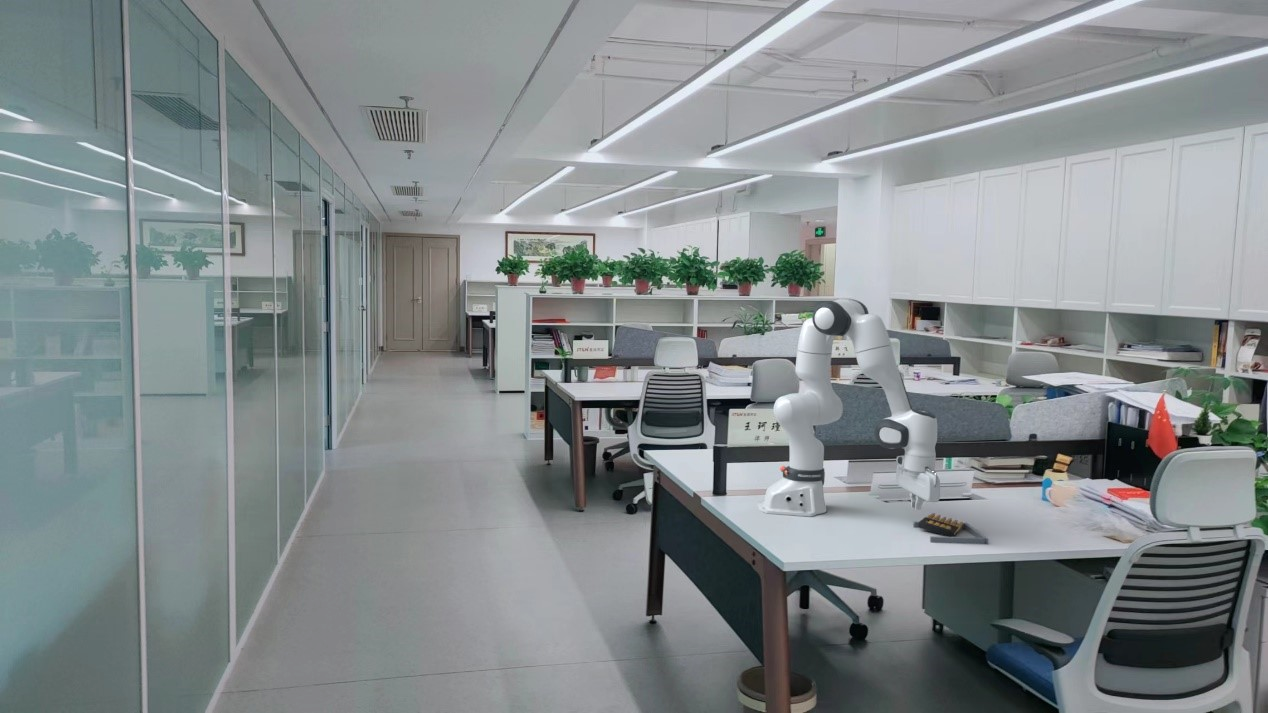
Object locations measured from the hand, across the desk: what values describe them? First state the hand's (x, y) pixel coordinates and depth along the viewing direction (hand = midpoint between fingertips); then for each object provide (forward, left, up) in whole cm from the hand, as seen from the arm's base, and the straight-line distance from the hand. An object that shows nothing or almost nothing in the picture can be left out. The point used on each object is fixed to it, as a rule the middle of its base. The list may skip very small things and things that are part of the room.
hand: (916, 508), depth 259 cm
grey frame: (+10, -1, -8) cm, 13 cm away
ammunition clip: (+6, -1, -6) cm, 9 cm away
